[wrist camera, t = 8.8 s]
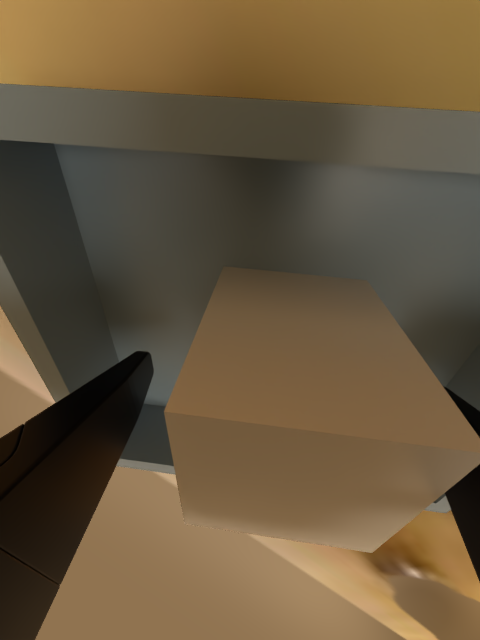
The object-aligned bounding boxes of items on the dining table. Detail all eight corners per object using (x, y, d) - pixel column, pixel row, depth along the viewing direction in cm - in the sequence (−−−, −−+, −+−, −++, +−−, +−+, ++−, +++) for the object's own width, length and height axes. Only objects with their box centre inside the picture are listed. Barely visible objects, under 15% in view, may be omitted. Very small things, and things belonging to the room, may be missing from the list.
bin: (643, 143, 6) (955, 139, 4) (409, 437, 14) (445, 513, 11) (31, 104, 7) (-131, 75, 4) (125, 400, 15) (89, 462, 12)
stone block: (367, 280, 9) (491, 454, 4) (329, 379, 12) (371, 552, 7) (223, 266, 9) (163, 411, 4) (221, 366, 12) (184, 523, 7)
